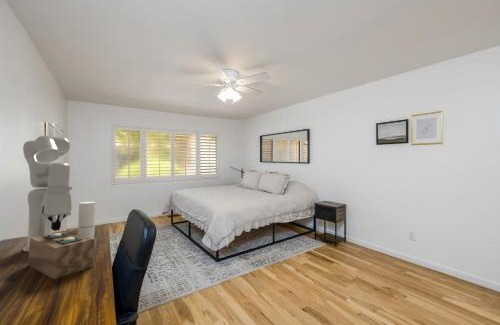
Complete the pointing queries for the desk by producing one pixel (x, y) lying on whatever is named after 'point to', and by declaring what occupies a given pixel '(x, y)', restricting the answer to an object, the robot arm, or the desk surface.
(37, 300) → the desk surface
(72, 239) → the peg
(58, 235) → the peg
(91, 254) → the walnut block
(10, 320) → the desk surface
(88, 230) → the cylindrical container
